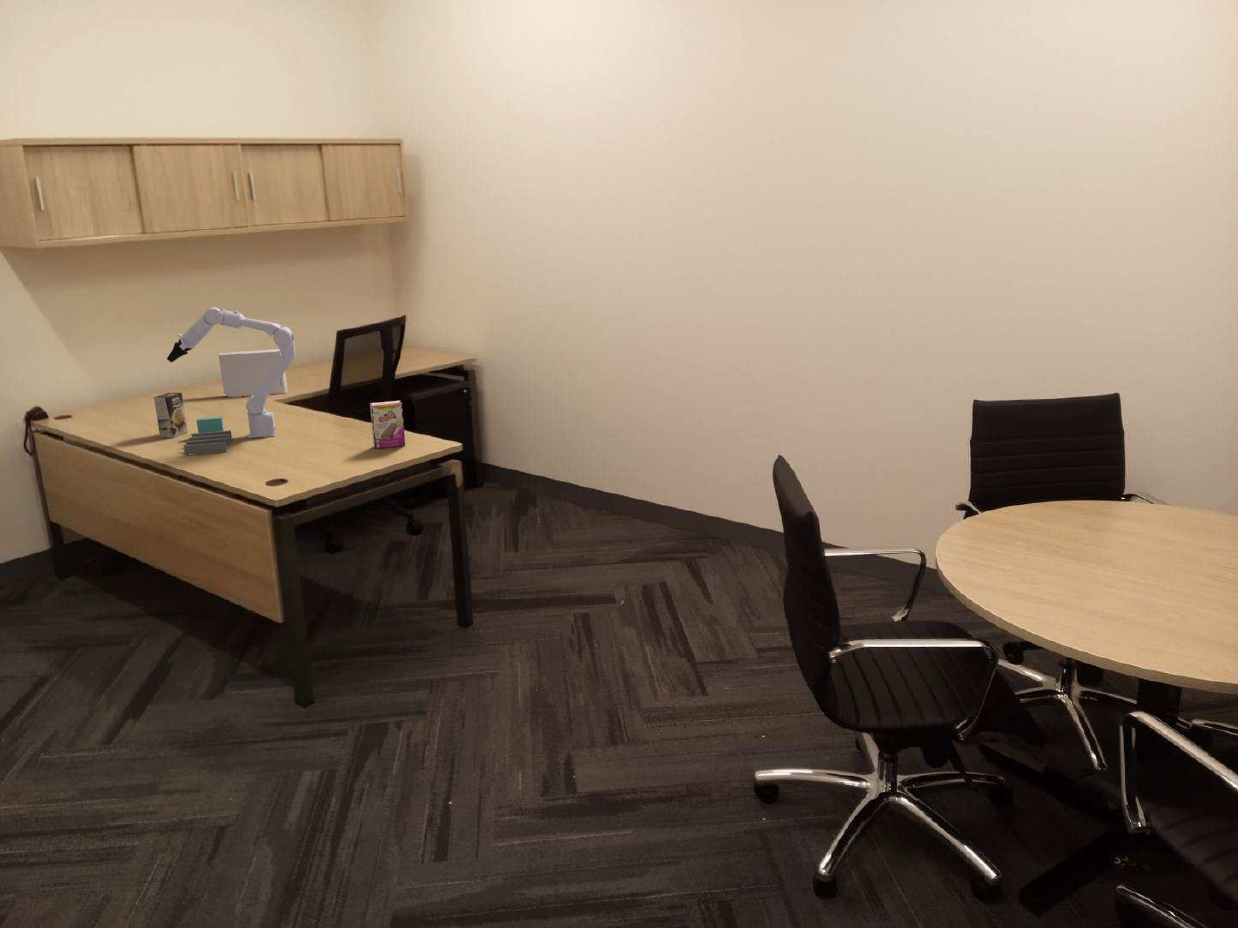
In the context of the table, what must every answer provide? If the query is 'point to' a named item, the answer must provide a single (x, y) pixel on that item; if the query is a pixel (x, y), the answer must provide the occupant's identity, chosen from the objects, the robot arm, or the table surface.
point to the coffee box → (170, 415)
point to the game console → (249, 372)
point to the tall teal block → (210, 424)
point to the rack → (208, 442)
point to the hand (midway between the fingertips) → (170, 358)
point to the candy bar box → (387, 424)
